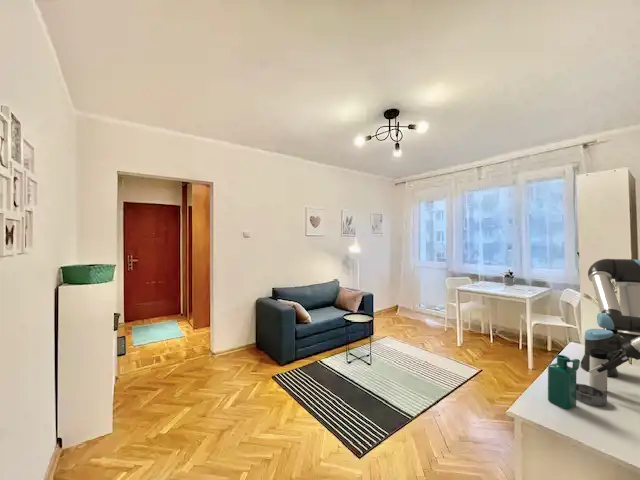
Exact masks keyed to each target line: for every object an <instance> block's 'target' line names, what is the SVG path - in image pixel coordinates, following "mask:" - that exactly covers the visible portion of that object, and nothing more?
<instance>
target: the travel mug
mask: <svg viewBox="0 0 640 480" xmlns="http://www.w3.org/2000/svg"><path fill="white" fill-rule="evenodd" d="M607 353H608V352H607V351H605V350H599V349H591V350H590V370H591V369H593V368H596V367H598V366H600V365H601V364H605V363H607ZM589 386H592V387H595V388H597V389H599V390H601V391H603V392H604V393H606V394H607V393H608V376H607V371H605V372H603V373H601V374H598V375H596V376H593V375H592V374H591V373H590V372H589Z"/></svg>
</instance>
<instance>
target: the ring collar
mask: <svg viewBox="0 0 640 480" xmlns="http://www.w3.org/2000/svg"><path fill="white" fill-rule="evenodd" d="M576 401H578V402H580V403H581V404H585V405H588V406H591V407H598V408H604V407H607V405H608V394H607V393H604V392H603V391H601V390H599V389H597V388H595V387H592V386H590V385H587V384H582V383H577V382H576Z"/></svg>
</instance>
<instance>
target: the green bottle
mask: <svg viewBox="0 0 640 480" xmlns="http://www.w3.org/2000/svg"><path fill="white" fill-rule="evenodd" d="M554 357H555V358H556V362H555V363H552V364H549V365H548V366H547V400H548V402H550V403H551V404H553V405H556V406H557V405H558V406H557V407H560V408H561V409H564V410H570V409H574V408H576V407H577V400H576V383H577V371H578V370H579V368H580V365H581V360H580V359H578V358H574V359H570V358H569V356H566V355H563V354H554ZM568 363H572V366H569V365H568Z"/></svg>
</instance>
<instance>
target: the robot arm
mask: <svg viewBox="0 0 640 480" xmlns="http://www.w3.org/2000/svg"><path fill="white" fill-rule="evenodd" d="M588 268H589V269H588V272H587V276H588V280H589V281H590V282H592V286H593V290H594V293H595V297H596V299H597V303H598V307H599V311H600V312H599V313H597V315H596V321H597V325H598V327H600V328H589V329H587V330H585V331H584V337H583V338H584V355H583V356H582V358H581V360H580V368H581V369H583V370H585V371H586V372H588V373H589V374H590V373H591V374H592V375H593V376H596V375H598V374H601V373H603V372H605V371H607V378H608V377H610V378H611V377H612V378H614V377H616V378H617V377H618V375H619V371H618V369H617V368H618V367H619V366H621V365H622V364H625V363H627V362H629V361H630V359H635V361H636V360H637V361H638V360H640V259H632V258H631V259H627V258H626V259H625V258H622V259H620V258H603V259H599V260H597V261H595V262H594V263H593V264H591V265H590V267H588ZM612 280H614V282H615V284H616V285H618V290H619V291H618V293H619V301H618V298H617V295H616V291H615V288H614V287H613V284H612ZM612 330H614V331H617V332H616V333H614V332H613V331H612ZM591 349H599V350H605V351H607V352H608V353H607V363H605V364H601V365H600V366H598V367H596V368H593V369H591V370H590V350H591Z"/></svg>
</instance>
